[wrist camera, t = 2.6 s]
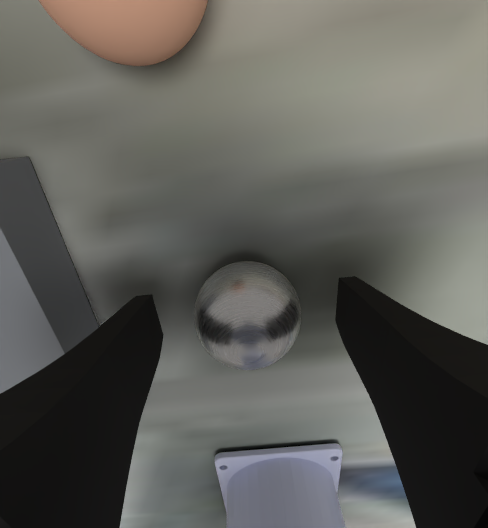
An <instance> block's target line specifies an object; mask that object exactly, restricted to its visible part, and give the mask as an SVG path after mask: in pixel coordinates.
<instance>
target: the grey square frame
mask: <svg viewBox="0 0 488 528" xmlns="http://www.w3.org/2000/svg"><path fill="white" fill-rule="evenodd" d="M98 328H99V326H98V324H97V321H96V319H95V316H94V314H93V312H92V309H91V307H90V304H89V302H88V299H87V297H86V295H85V292H84V290H83V287H82V285H81V282H80V280H79V278H78V275H77V273H76V270H75V268H74V266H73V263H72V261H71V258H70V256H69V253H68V251H67V249H66V246H65V244H64V241H63V239H62V236H61V234H60V232H59V229H58V227H57V224H56V222H55V219H54V217H53V215H52V212H51V210H50V207H49V205H48V203H47V200H46V198H45V195H44V193H43V190H42V188H41V186H40V183H39V181H38V178H37V176H36V173H35V171H34V169H33V166H32V164H31V161H30V159H29V157H20V158H10V159H0V394H1V393H3V392H4V391H6V390H8V389H10V388H11V387H13V386H15V385H16V384H18V383H20V382H21V381H23V380H25V379H26V378H28V377H30V376H32V375H33V374H35V373H37V372H38V371H40V370H41V369H43V368H45V367H46V366H48V365H49V364H51V363H52V362H53V361H55V360H56V359H58V358H59V357H61V356H62V355H64V354H65V353H67V352H68V351H69V350H71V349H72V348H73V347H75V346H76V345H77V344H79V343H80V342H81V341H82V340H84V339H85V338H86V337H87V336H89V335H90V334H91V333H93V332H94V331H95V330H96V329H98Z"/></svg>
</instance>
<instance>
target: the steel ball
mask: <svg viewBox="0 0 488 528" xmlns="http://www.w3.org/2000/svg"><path fill="white" fill-rule="evenodd" d="M194 322H195V329H196V332H197V335H198V338H199V340H200V342H201V343H202V345H203V346H204V348H205V349H206V351H207V352H208V353H209V354H210V355H211V356H212V357H213V358H215V359H216V360H217V361H219V362H220V363H222V364H224V365H226V366H229V367H231V368H235V369H240V370H255V369H260V368H264V367H267V366H269V365H272V364H273V363H275V362H277V361H278V360H279V359H281V358H282V357H283V356H284V355H285V354H286V353H287V352H288V351H289V350H290V348H291V347H292V346H293V344H294V342H295V340H296V338H297V336H298V333H299V330H300V325H301V306H300V302H299V298H298V295H297V293H296V291H295V289H294V287H293V286H292V284H291V283H290V282H289V280H288V279H287V278H286V277H285V276H284V275H283V274H282V273H281V272H279V271H278V270H276V269H275V268H273V267H271V266H269V265H266V264H263V263H260V262H255V261H241V262H235V263H232V264H229V265H226V266H224V267H222V268H220V269H219V270H217V271H216V272H215V273H213V274H212V275H211V276H210V277H209V278H208V279H207V280H206V282H205V283H204V284H203V286H202V288H201V289H200V291H199V293H198V296H197V299H196V302H195V307H194Z"/></svg>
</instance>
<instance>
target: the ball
mask: <svg viewBox="0 0 488 528" xmlns="http://www.w3.org/2000/svg"><path fill="white" fill-rule="evenodd" d="M39 2H40V3H41V5H42V6H43V7H44V9H45V10H46V11H47V13H48V14H49V15H50V16H51V17H52V19H53V20H54V21H55V22H56V23H57V24H58V25H59V26H60V27H61V28H62V29H63V30H64V31H65V32H66V33H67V34H68V35H69V36H70V37H71V38H72V39H73V40H75V41H76V42H77V43H79V44H80V45H81V46H83V47H84V48H86V49H88V50H89V51H91V52H93V53H94V54H96V55H98V56H100V57H102V58H104V59H106V60H109V61H112V62H115V63H119V64H123V65H131V66H147V65H152V64H156V63H159V62H162V61H164V60H166V59H168V58H170V57H172V56H173V55H175V54H176V53H177V52H178V51H180V50H181V49H182V48H183V47H184V46H185V45H186V44H187V43H188V42H189V40H190V39H191V37H192V36H193V35H194V33H195V32H196V30H197V28H198V26H199V24H200V22H201V20H202V17H203V15H204V12H205V10H206V6H207V2H208V0H39Z"/></svg>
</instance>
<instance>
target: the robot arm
mask: <svg viewBox="0 0 488 528" xmlns="http://www.w3.org/2000/svg"><path fill="white" fill-rule="evenodd" d="M336 323H337V327H338V330H339V333H340V336H341V338H342V341H343V344H344V346H345V348H346V350H347V352H348V354H349V356H350V358H351V360H352V362H353V364H354V366H355V368H356V370H357V372H358V374H359V376H360V378H361V380H362V382H363V384H364V386H365V388H366V390H367V392H368V394H369V396H370V398H371V400H372V403H373V405H374V407H375V410H376V412H377V415H378V417H379V420H380V423H381V425H382V428H383V431H384V433H385V436H386V439H387V441H388V444H389V447H390V450H391V453H392V455H393V458H394V461H395V464H396V467H397V469H398V472H399V475H400V478H401V481H402V484H403V487H404V490H405V493H406V496H407V499H408V502H409V505H410V509H411V512H412V515H413V518H414V521H415V525H416V528H488V345H486V344H484V343H481V342H478V341H476V340H473V339H471V338H468V337H466V336H463V335H461V334H459V333H457V332H454V331H452V330H450V329H448V328H445V327H443V326H441V325H439V324H437V323H435V322H433V321H431V320H429V319H427V318H425V317H423V316H421V315H419V314H417V313H416V312H414V311H412V310H410V309H408V308H406V307H405V306H403V305H401V304H399V303H398V302H396V301H394V300H393V299H391V298H389V297H388V296H386V295H385V294H383V293H381V292H380V291H378V290H377V289H375V288H373V287H372V286H370V285H369V284H367V283H365V282H364V281H362V280H360V279H358V278H357V277H345V278H339V283H338V295H337V308H336ZM162 341H163V332H162V329H161V325H160V322H159V318H158V314H157V311H156V307H155V304H154V300H153V297H152V295H142V296H136V297H134V298H133V299H132V300H130V301H129V302H128V303H127V304H126V305H124V306H123V307H122V308H121V309H120V310H119V311H117V312H116V313H115V314H114V315H113V316H112V317H110V318H109V319H108V320H107V321H106V322H105V323H103V324H102V325H101V326H100V327H99V328H98V329H96V330H95V331H94V332H93V333H91V334H90V335H89V336H87V337H86V338H85V339H84V340H82V341H81V342H80V343H79V344H77V345H76V346H75V347H73V348H72V349H71V350H69V351H68V352H67V353H65V354H64V355H62V356H61V357H59V358H58V359H56V360H55V361H53V362H52V363H51V364H49V365H48V366H46V367H45V368H43V369H41V370H40V371H38V372H37V373H35V374H33V375H32V376H30V377H28V378H26V379H25V380H23V381H21V382H20V383H18V384H16V385H15V386H13V387H11V388H10V389H8V390H6V391H4V392H3V393H1V394H0V528H119V527H120V521H121V515H122V509H123V503H124V497H125V491H126V485H127V480H128V475H129V469H130V464H131V459H132V454H133V449H134V445H135V440H136V435H137V430H138V426H139V422H140V419H141V415H142V412H143V409H144V406H145V403H146V399H147V396H148V393H149V390H150V387H151V384H152V381H153V378H154V375H155V371H156V368H157V365H158V362H159V358H160V353H161V347H162ZM342 454H343V452H342V448H341V446H340V445H339V444H336V443H331V444H319V445H307V446H295V447H282V448H270V449H258V450H246V451H233V452H222V453H218V454H217V455H216V456H215V467H216V471H217V475H218V479H219V483H220V488H221V492H222V496H223V500H224V504H225V509H226V513H227V528H346V526H345V522H344V518H343V515H342V511H341V507H340V503H339V500H338V496H337V492H338V485H339V477H340V469H341V462H342Z"/></svg>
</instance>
